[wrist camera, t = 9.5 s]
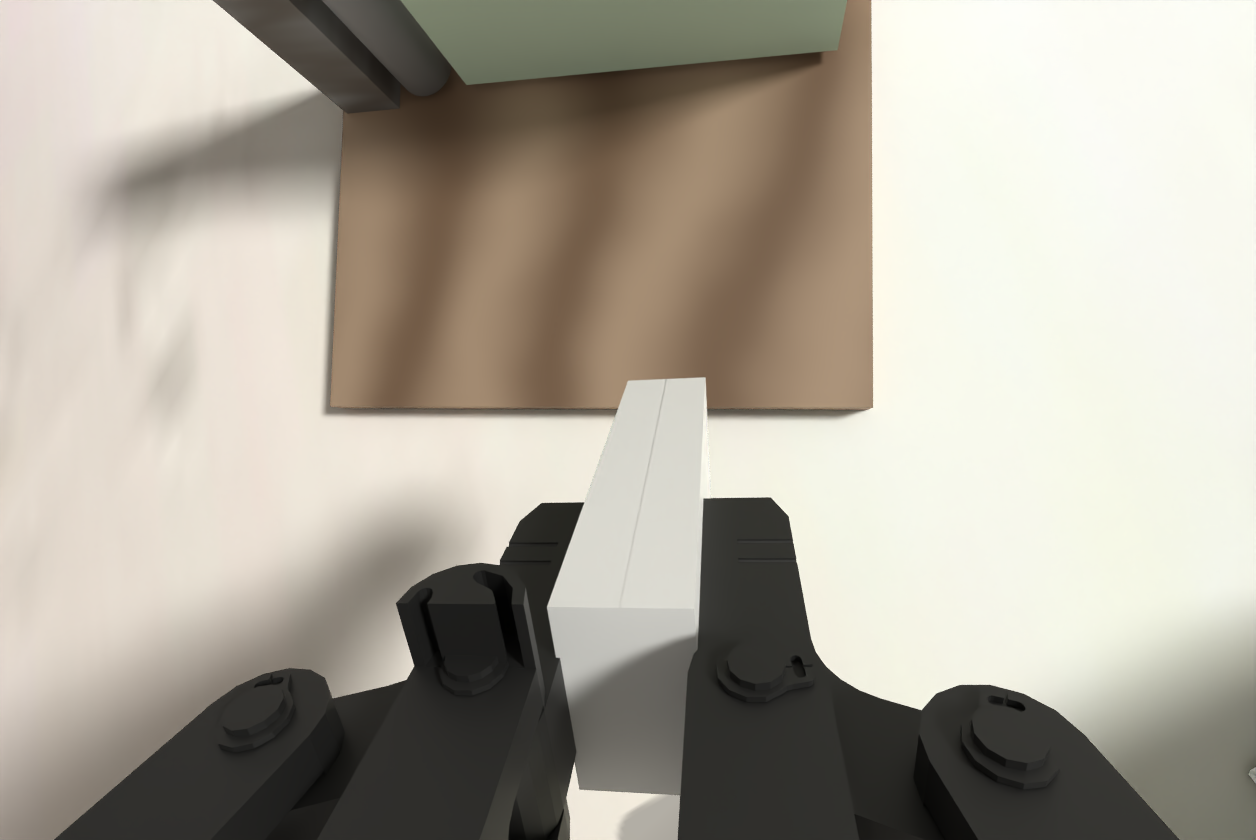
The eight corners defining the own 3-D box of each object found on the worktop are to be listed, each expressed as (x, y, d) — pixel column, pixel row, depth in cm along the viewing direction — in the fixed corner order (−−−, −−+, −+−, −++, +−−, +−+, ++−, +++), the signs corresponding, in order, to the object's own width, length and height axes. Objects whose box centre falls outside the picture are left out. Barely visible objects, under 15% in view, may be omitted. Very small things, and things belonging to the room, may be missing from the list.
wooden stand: (345, 408, 27) (-18, 362, 14) (362, 11, 28) (37, -358, 15) (868, 409, 23) (1003, 347, 10) (866, -57, 24) (988, -639, 11)
